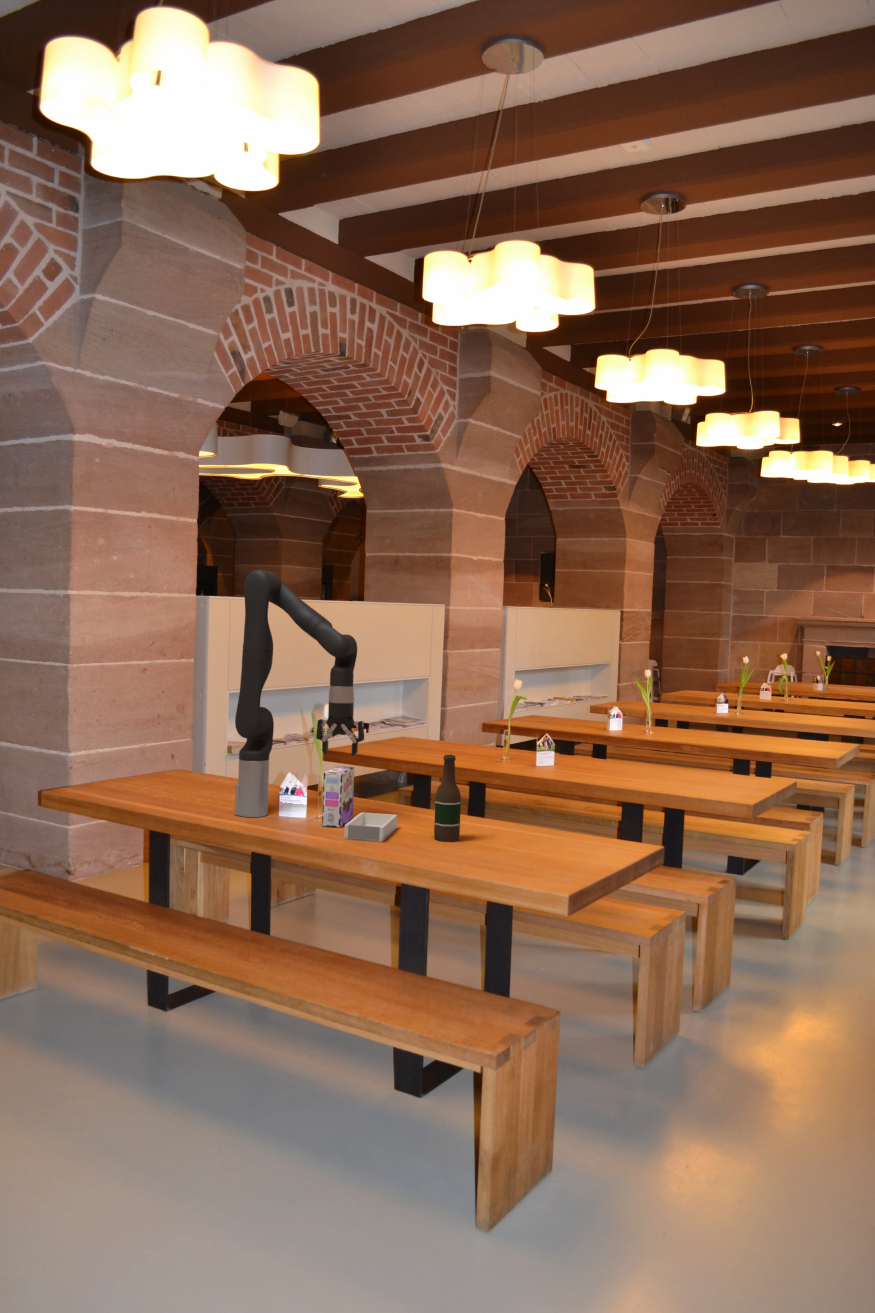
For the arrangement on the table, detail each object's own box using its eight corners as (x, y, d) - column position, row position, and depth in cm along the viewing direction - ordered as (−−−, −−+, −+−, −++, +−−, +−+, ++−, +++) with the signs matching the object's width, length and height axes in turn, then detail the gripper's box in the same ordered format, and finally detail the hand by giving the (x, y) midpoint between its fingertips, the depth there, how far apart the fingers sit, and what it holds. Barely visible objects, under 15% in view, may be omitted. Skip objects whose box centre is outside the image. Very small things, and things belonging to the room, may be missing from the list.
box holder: (344, 839, 277) (344, 825, 277) (360, 825, 296) (361, 812, 296) (382, 842, 275) (383, 827, 275) (396, 828, 294) (397, 814, 294)
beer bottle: (428, 837, 284) (431, 753, 283) (453, 835, 287) (456, 753, 286) (439, 843, 277) (442, 757, 276) (464, 841, 280) (467, 757, 279)
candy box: (340, 828, 291) (342, 772, 291) (321, 826, 293) (322, 771, 292) (353, 819, 305) (355, 766, 304) (335, 818, 306) (336, 765, 305)
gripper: (314, 700, 295) (313, 755, 295) (361, 702, 292) (359, 757, 293) (321, 699, 302) (320, 752, 303) (367, 701, 300) (365, 754, 300)
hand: (339, 754), depth 298 cm, fingers open, 8 cm apart
